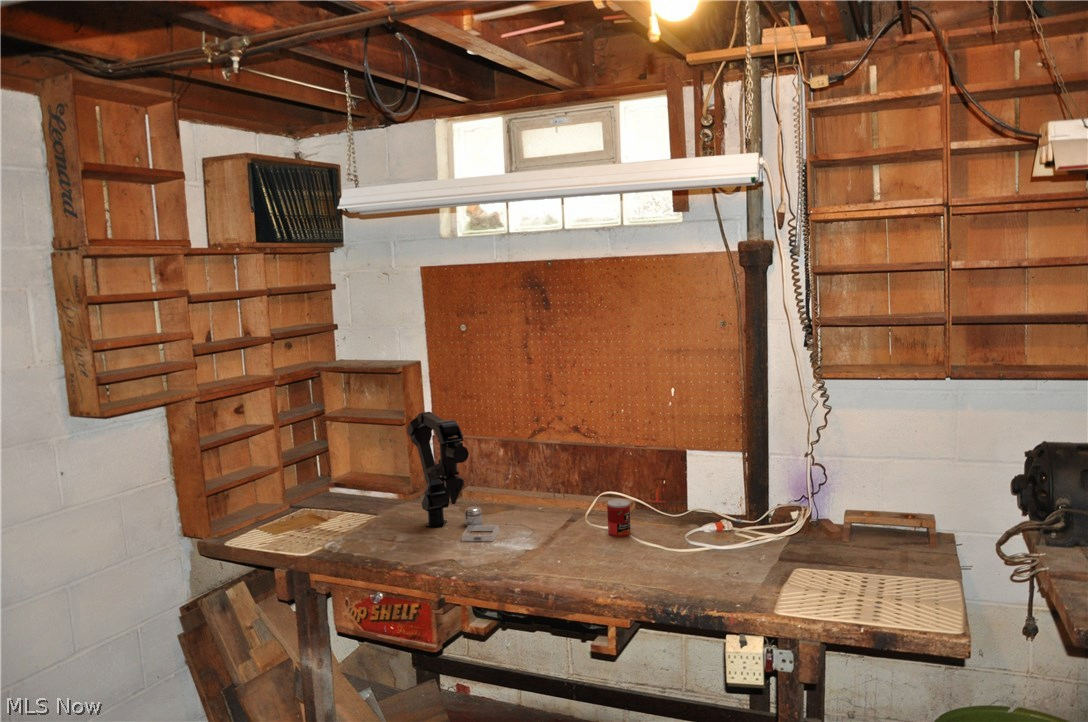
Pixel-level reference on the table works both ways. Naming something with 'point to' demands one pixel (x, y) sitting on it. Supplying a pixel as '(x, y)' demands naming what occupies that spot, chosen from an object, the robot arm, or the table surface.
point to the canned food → (618, 517)
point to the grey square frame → (480, 537)
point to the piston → (473, 516)
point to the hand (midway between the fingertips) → (450, 500)
